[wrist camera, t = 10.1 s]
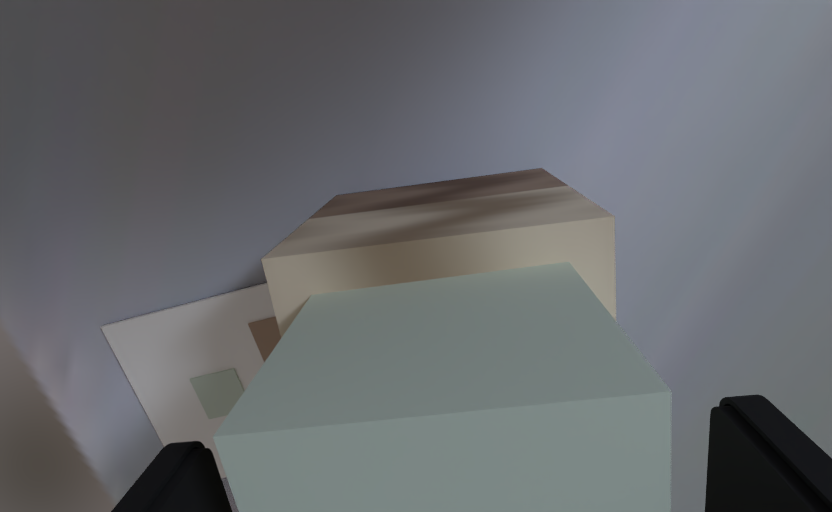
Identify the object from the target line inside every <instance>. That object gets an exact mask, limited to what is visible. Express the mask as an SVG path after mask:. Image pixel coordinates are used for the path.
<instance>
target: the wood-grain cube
mask: <svg viewBox="0 0 832 512" xmlns="http://www.w3.org/2000/svg"><path fill="white" fill-rule="evenodd" d="M261 261H262V264H263V268H264V272H265V276H266V280H267V284H268V288H269V292H270V296H271V300H272V304H273V308H274V312H275V316H276V320H277V324H278V327H279V331H280V335H281V338H282V337H283V335H284V334H285V332H286V331H287V329H288V328H289V327H290V325H291V324H292V322H293V321H294V319H295V318H296V316H297V315H298V314H299V312H300V311H301V309H302V308H303V306H304V305H305V303H306V302H307V301H308V299H309V298H310V296H311V295H315V294H323V293H330V292H338V291H346V290H353V289H361V288H369V287H377V286H384V285H392V284H400V283H408V282H415V281H423V280H431V279H438V278H446V277H454V276H462V275H469V274H477V273H485V272H493V271H500V270H508V269H516V268H523V267H531V266H539V265H547V264H554V263H562V262H570V264H571V265H572V266H573V267H574V269H575V270H576V271H577V273H578V274H579V275H580V276H581V278H582V279H583V280H584V281H585V283H586V284H587V285H588V286H589V288H590V289H591V290H592V292H593V293H594V294H595V295H596V297H597V298H598V299H599V300H600V302H601V303H602V304H603V305H604V307H605V308H606V309H607V310H608V312H609V313H610V314H611V316H612V317H613V318H614V319H615V321H616V281H615V216H613V215H612V214H610V213H609V212H607V211H606V210H604V209H603V208H601V207H600V206H598V205H597V204H595V203H594V202H592V201H591V200H589V199H588V198H586V197H585V196H583V195H582V194H580V193H579V192H577V191H576V190H574V189H573V188H571V187H569V186H568V185H566V184H565V183H563V182H562V181H560V180H559V179H557V178H556V177H554V176H553V175H551V174H550V173H548V172H547V171H545V170H544V169H542V168H539V169H531V170H524V171H516V172H509V173H501V174H494V175H486V176H479V177H471V178H464V179H456V180H449V181H441V182H434V183H426V184H419V185H411V186H404V187H396V188H389V189H381V190H373V191H366V192H358V193H351V194H343V195H336V196H335V197H334V198H333V199H331V200H330V201H329V202H328V203H327V204H326V205H324V206H323V207H322V208H321V209H320V210H318V211H317V212H316V213H315V214H314V215H313V216H311V217H310V218H309V219H308V220H307V221H306V222H304V223H303V224H302V225H301V226H300V227H298V228H297V229H296V230H295V231H294V232H293V233H291V234H290V235H289V236H288V237H287V238H285V239H284V240H283V241H282V242H281V243H280V244H278V245H277V246H276V247H275V248H274V249H272V250H271V251H270V252H269V253H268V254H267V255H265V256H264V257H263V258H262V259H261Z"/></svg>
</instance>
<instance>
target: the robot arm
mask: <svg viewBox="0 0 832 512" xmlns="http://www.w3.org/2000/svg"><path fill="white" fill-rule="evenodd" d="M111 512H232V510H231V507H230V504H229V501H228V498H227V495H226V492H225V489H224V486H223V483H222V480H221V477H220V474H219V470H218V467H217V464H216V461H215V458H214V455H213V453H212V451H211V450H210V449H209V448H205V446H204V444H203V443H201V442H200V441H188V442H176V443H170V444H167V445H166V446H165V447H164V448H163V449H162V450H161V451H160V453H159V454H158V455H157V456H156V457H155V459H154V460H153V461H152V462H151V464H150V465H149V466H148V467H147V469H146V470H145V471H144V472H143V473H142V475H141V476H140V477H139V478H138V480H137V481H136V482H135V483H134V484H133V486H132V487H131V488H130V489H129V491H128V492H127V493H126V494H125V495H124V497H123V498H122V499H121V500H120V502H119V503H118V504H117V505H116V507H115V508H114V509H113V510H112V511H111ZM705 512H832V458H830V457H829V456H828V455H827V454H826V453H825V452H824V451H823V450H822V449H821V448H820V447H819V446H817V445H816V444H815V443H814V442H813V441H812V440H811V439H810V438H809V437H808V436H807V435H805V434H804V433H803V432H802V431H801V430H800V429H799V428H798V427H797V426H796V425H795V424H794V423H792V422H791V421H790V420H789V419H788V418H787V417H786V416H785V415H784V414H783V413H782V412H780V411H779V410H778V409H777V408H776V407H775V406H774V405H773V404H772V403H771V402H770V401H768V400H767V399H766V398H765V397H763V396H761V395H747V396H735V397H725V398H723V399H722V400H721V401H720V404H719V407H714V408H712V410H711V414H710V432H709V450H708V468H707V485H706V503H705Z"/></svg>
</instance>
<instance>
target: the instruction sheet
mask: <svg viewBox="0 0 832 512" xmlns="http://www.w3.org/2000/svg"><path fill="white" fill-rule="evenodd" d="M101 329H102V331H103V333H104V335H105V337H106V339H107V341H108V342H109V344H110V346H111V348H112V350H113V352H114V354H115V356H116V357H117V359H118V361H119V363H120V365H121V367H122V369H123V371H124V372H125V374H126V376H127V378H128V380H129V382H130V384H131V386H132V388H133V389H134V391H135V393H136V395H137V397H138V399H139V401H140V403H141V404H142V406H143V408H144V410H145V412H146V414H147V416H148V418H149V419H150V421H151V423H152V425H153V427H154V429H155V431H156V433H157V434H158V436H159V438H160V440H161V442H162V444H163V446H164V447H165V446H166V445H167V444H170V443H176V442H188V441H200V442H201V443H203V444H204V446H205V448H209V449H210V450H211V451H212V453H213V455H214V458H215V461H216V464H217V467H218V470H219V474H220V477H221V478H226V474H225V471H224V468H223V465H222V462H221V459H220V456H219V454H218V451H217V448H216V445H215V442H214V439H213V436H214V434H215V433H216V432H217V430H218V429H219V427H220V426H221V424H222V423H223V421H224V420H225V419H226V417H227V416H228V414H229V413H230V411H231V410H232V408H233V407H234V406H235V404H236V403H237V401H238V400H239V398H240V397H241V396H242V394H243V393H244V391H245V390H246V388H247V387H248V385H249V384H250V383H251V381H252V380H253V378H254V377H255V375H256V374H257V373H258V371H259V370H260V368H261V367H262V365H263V364H264V362H265V361H266V360H267V358H268V357H269V355H270V354H271V352H272V351H273V350H274V348H275V347H276V345H277V344H278V342H279V341H280V339H281V335H280V331H279V327H278V324H277V320H276V316H275V312H274V308H273V304H272V300H271V296H270V292H269V288H268V284H267V283H263V284H259V285H255V286H252V287H248V288H244V289H240V290H236V291H232V292H229V293H225V294H221V295H217V296H213V297H209V298H206V299H202V300H198V301H194V302H190V303H186V304H183V305H179V306H175V307H171V308H167V309H164V310H160V311H156V312H152V313H148V314H144V315H141V316H137V317H133V318H129V319H125V320H121V321H118V322H114V323H110V324H106V325H103V326H101Z"/></svg>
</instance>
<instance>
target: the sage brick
mask: <svg viewBox="0 0 832 512" xmlns="http://www.w3.org/2000/svg"><path fill="white" fill-rule="evenodd" d="M213 439H214V442H215V445H216V448H217V451H218V454H219V456H220V459H221V462H222V465H223V468H224V471H225V474H226V477H227V480H228V482H229V485H230V488H231V491H232V494H233V497H234V500H235V503H236V506H237V508H238V511H239V512H671V390H670V389H669V388H668V386H667V385H666V384H665V383H664V381H663V380H662V379H661V378H660V376H659V375H658V374H657V373H656V371H655V370H654V369H653V367H652V366H651V365H650V364H649V362H648V361H647V360H646V359H645V357H644V356H643V355H642V354H641V352H640V351H639V350H638V348H637V347H636V346H635V345H634V343H633V342H632V341H631V340H630V338H629V337H628V336H627V335H626V333H625V332H624V331H623V329H622V328H621V327H620V326H619V324H618V323H617V322H616V321H615V319H614V318H613V317H612V316H611V314H610V313H609V312H608V310H607V309H606V308H605V307H604V305H603V304H602V303H601V302H600V300H599V299H598V298H597V297H596V295H595V294H594V293H593V292H592V290H591V289H590V288H589V286H588V285H587V284H586V283H585V281H584V280H583V279H582V278H581V276H580V275H579V274H578V273H577V271H576V270H575V269H574V267H573V266H572V265H571V264H570V262H562V263H554V264H547V265H539V266H531V267H523V268H516V269H508V270H500V271H493V272H485V273H477V274H469V275H462V276H454V277H446V278H438V279H431V280H423V281H415V282H408V283H400V284H392V285H384V286H377V287H369V288H361V289H353V290H346V291H338V292H330V293H323V294H315V295H311V296H310V298H309V299H308V301H307V302H306V303H305V305H304V306H303V308H302V309H301V311H300V312H299V314H298V315H297V316H296V318H295V319H294V321H293V322H292V324H291V325H290V327H289V328H288V329H287V331H286V332H285V334H284V335H283V337H282V338H281V339H280V341H279V342H278V344H277V345H276V347H275V348H274V350H273V351H272V352H271V354H270V355H269V357H268V358H267V360H266V361H265V362H264V364H263V365H262V367H261V368H260V370H259V371H258V373H257V374H256V375H255V377H254V378H253V380H252V381H251V383H250V384H249V385H248V387H247V388H246V390H245V391H244V393H243V394H242V396H241V397H240V398H239V400H238V401H237V403H236V404H235V406H234V407H233V408H232V410H231V411H230V413H229V414H228V416H227V417H226V419H225V420H224V421H223V423H222V424H221V426H220V427H219V429H218V430H217V432H216V433H215V434H214V436H213Z"/></svg>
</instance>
